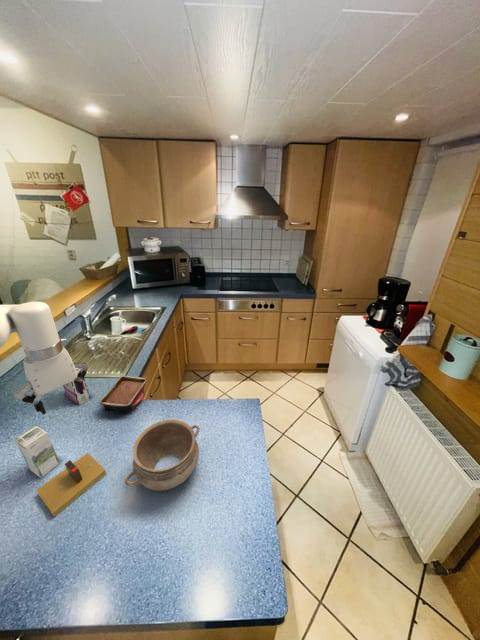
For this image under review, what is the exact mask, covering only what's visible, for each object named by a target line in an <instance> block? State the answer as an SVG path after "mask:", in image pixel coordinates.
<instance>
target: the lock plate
mask: <svg viewBox="0 0 480 640" xmlns="http://www.w3.org/2000/svg"><path fill="white" fill-rule="evenodd" d="M72 463H73V464H74V465H75V466H76V467H77V468H78V469H79V471H80V474H81V476H82V480H81V481H80V482H79V483H78V484H77V483H76V482H75V481H74V480H73V478H72V477H71V476H70V475H69V474H68V471H67V469H66V468H65V469H63V470H62V471H61V472H59V473H58V474H57V475H55V476H54V477H52V478H51V479H49V481H47V482H46V483H44V484H43V485H41V486H40V487H39V488H37V489H36V493H37V495H38V496H39V497H40V499H41V500H42V502H43V503H44V505H45V506H46V508H47V509H48V511H49V512H50V513H51V514H52V516H53V517H54V518H56V517H57V516H59V514H61V513H62V512H63V511H64V510H66V508H68V507H69V506H70V505H72V503H74V502H75V501H77V499H79V498H80V497H81V496H82V495H84V494H85V493H86V492H87V491H88V490H90V489H91V488H92V487H93V486H94V485H95V484H97V483H98V482H99V481H100V480H101V479H102V478H104V477H105V476H106V475H107V471H106V469H105V468H104V466H102V465H101V464H100V463H99V462H97V460H96V459H95V458H94V457H93V456H92V455H91V454H89V453H88V452H87V453H85V454H84V455H83V456H81V457H79V459H77V460H76V461H74V462H72Z"/></svg>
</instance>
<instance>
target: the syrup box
mask: <svg viewBox="0 0 480 640" xmlns="http://www.w3.org/2000/svg"><path fill="white" fill-rule="evenodd" d="M14 441H15V443H16V446H17V447H18V450H19V451H20V454H21V455H22V457H23V459H24V461H25V463H26V466H27V467H28V469H29V471H31V473H33V474H34V475H36V476H37V477H39V478H43V477H44V475H46V474H48V473H49V472H50V471H51V470H53V469H54V468H55V467H56V466H58V464H59V463H60V459H59V456H58V454H57V452H56V450H55V447H54V445H53V443H52V440H51V437H50V435H49V432H47V431H45V430H44V429H42V428H41V427H40V426H38V425H34V426H33V427H32V428H31V429H29V430H28V431H26V432H25V433H23V434H21V435H20V436H18V437H17V438H15V439H14Z"/></svg>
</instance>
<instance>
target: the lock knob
mask: <svg viewBox="0 0 480 640" xmlns="http://www.w3.org/2000/svg"><path fill="white" fill-rule="evenodd" d="M73 463H74V462H72V460H68V461H66V462H65V463H64V466H65V469H67V471H68V474H69V475H70V476H71V477H72V478H73V480H74V481H75V482H76V483H77V484H78V483H79V482H80V481H81V480H82V476H81V474H80V471H79V469H78V468H77V467H76V466H75V465H74V464H73Z"/></svg>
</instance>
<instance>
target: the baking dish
mask: <svg viewBox="0 0 480 640" xmlns="http://www.w3.org/2000/svg"><path fill="white" fill-rule="evenodd" d="M146 383H147V379H146V378H144V377H141V376H131V375H122V376H120V377H119V378H118V379H117V380H116V381H115V383H114V384H113V385H112V386H111V388H110V389H109V390H108V391H107V392H106V393H105V394H104V396H103V397H102V398H101V399H100V401H99V404H100V405H101V406H103V407H104V410H105V411H108V410H115V411H116V412H117V411H118V412H121V413H123V414H132V412H134V411H135V409H136V408H137V406H138V404H139V403H140V402H141V401H142V400H143V399H144V397H145V396H146V395H145V394H146V393H145V387H146Z"/></svg>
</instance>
